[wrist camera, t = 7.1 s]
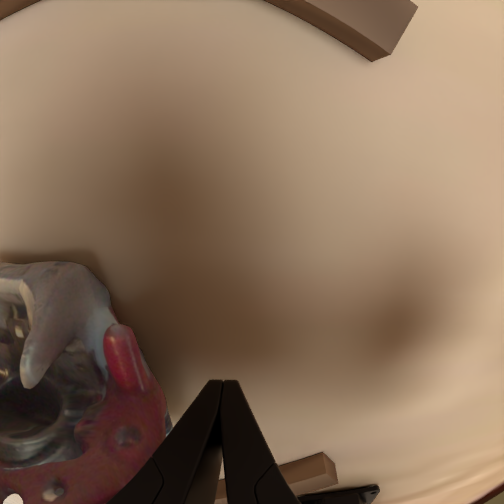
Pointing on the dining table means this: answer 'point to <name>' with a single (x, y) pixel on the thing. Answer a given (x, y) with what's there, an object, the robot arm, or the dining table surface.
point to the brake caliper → (71, 389)
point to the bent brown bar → (373, 48)
